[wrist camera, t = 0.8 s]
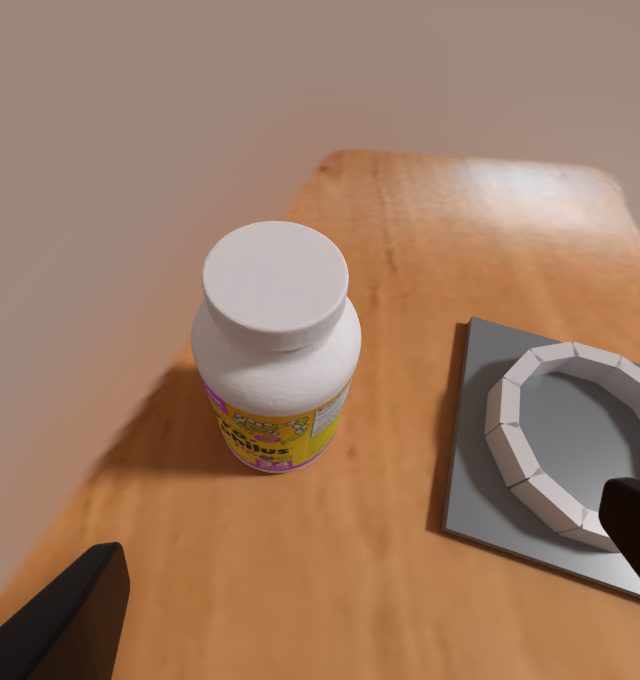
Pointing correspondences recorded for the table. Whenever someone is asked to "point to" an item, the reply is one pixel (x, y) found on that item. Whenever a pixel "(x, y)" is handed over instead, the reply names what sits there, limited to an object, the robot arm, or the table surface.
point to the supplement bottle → (276, 342)
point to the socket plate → (542, 450)
